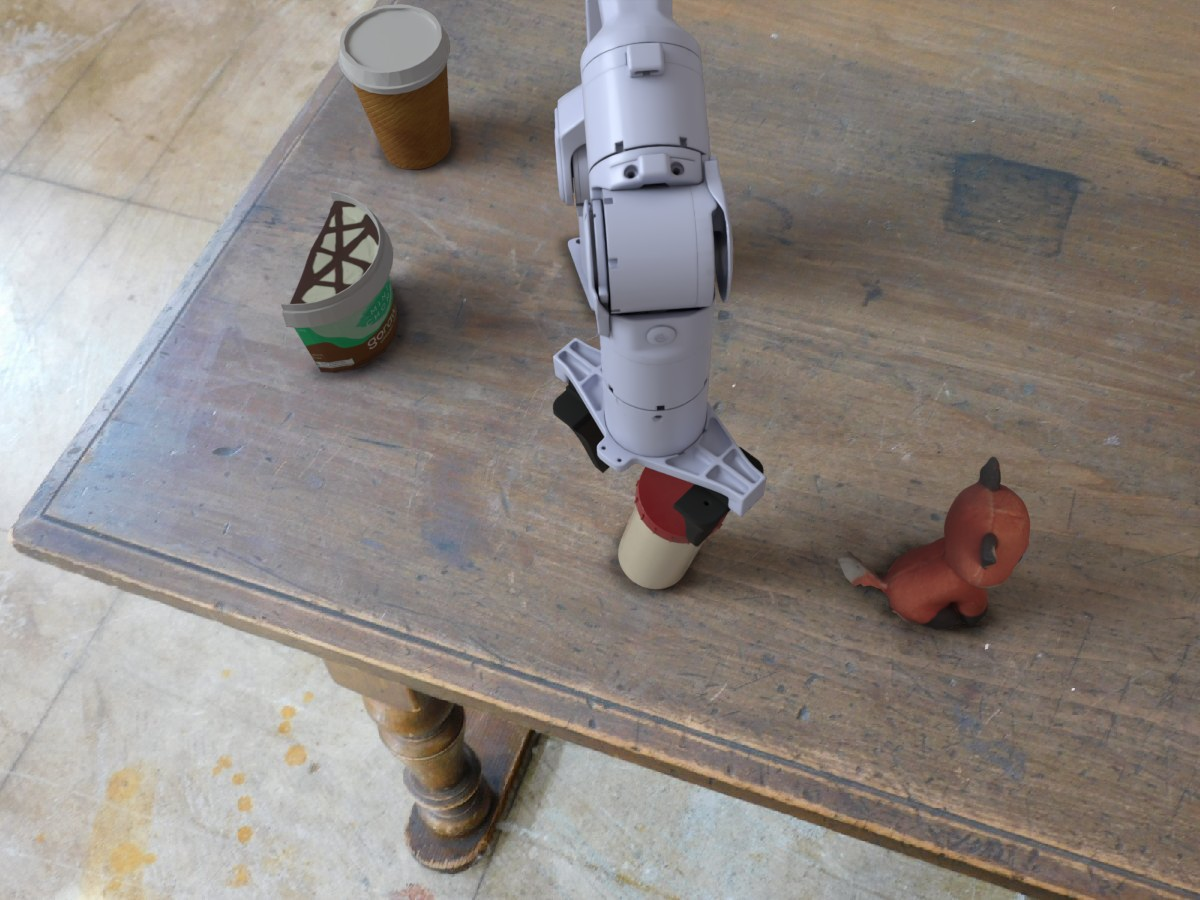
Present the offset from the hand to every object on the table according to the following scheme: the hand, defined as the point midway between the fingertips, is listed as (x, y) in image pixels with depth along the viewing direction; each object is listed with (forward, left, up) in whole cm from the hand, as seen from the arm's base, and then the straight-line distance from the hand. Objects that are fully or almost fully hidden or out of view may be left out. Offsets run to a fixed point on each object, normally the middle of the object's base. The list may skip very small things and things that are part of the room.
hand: (655, 496), depth 68 cm
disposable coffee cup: (+8, -47, -11) cm, 49 cm away
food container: (+16, -27, -11) cm, 33 cm away
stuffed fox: (-17, +7, -11) cm, 21 cm away
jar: (0, -1, -10) cm, 10 cm away
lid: (-2, +1, +1) cm, 2 cm away
